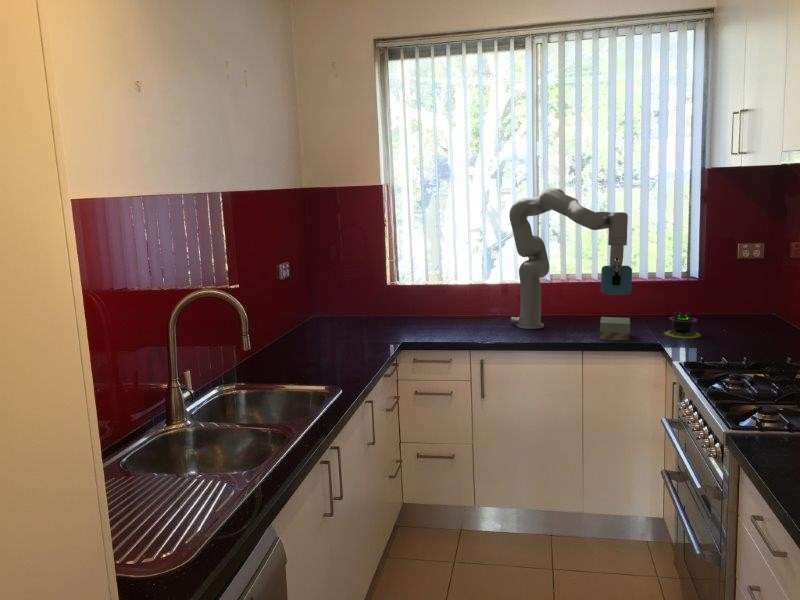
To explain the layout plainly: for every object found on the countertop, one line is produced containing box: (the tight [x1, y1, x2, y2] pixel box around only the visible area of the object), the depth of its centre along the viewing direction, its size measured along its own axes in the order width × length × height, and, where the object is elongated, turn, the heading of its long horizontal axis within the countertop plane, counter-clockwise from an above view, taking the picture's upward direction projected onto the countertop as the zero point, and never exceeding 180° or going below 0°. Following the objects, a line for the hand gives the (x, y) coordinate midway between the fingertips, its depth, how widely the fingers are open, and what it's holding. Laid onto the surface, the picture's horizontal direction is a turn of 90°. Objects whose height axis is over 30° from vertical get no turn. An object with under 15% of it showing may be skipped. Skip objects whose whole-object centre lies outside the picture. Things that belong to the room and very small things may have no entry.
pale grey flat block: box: [599, 316, 631, 334], centre depth 287 cm, size 12×13×4 cm
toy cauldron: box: [663, 309, 702, 339], centre depth 290 cm, size 15×15×11 cm
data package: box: [600, 265, 633, 296], centre depth 284 cm, size 12×4×12 cm, turn 81°
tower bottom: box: [599, 331, 631, 341], centre depth 288 cm, size 12×13×4 cm
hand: (616, 283), depth 284 cm, fingers closed on data package, 5 cm apart
